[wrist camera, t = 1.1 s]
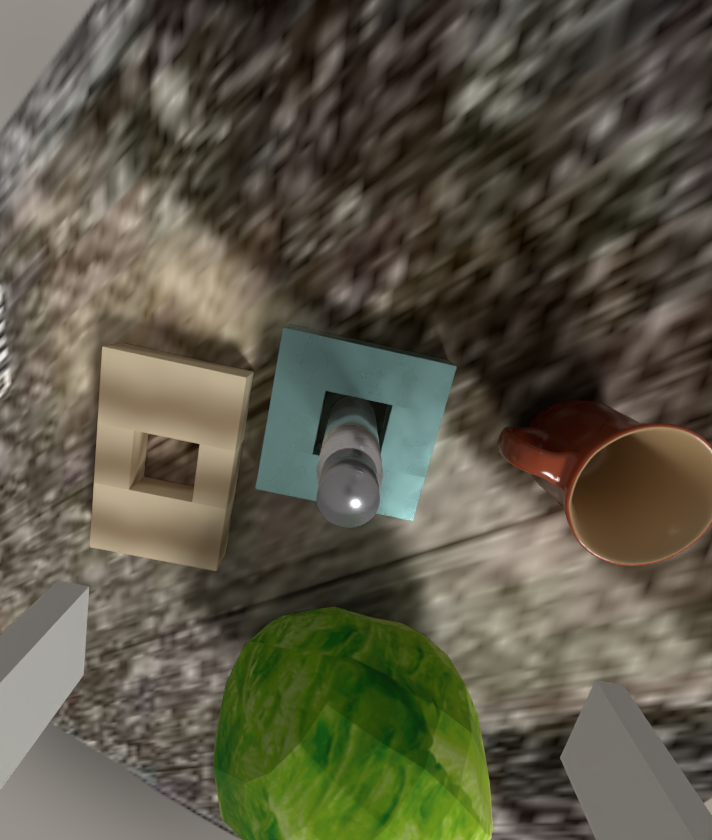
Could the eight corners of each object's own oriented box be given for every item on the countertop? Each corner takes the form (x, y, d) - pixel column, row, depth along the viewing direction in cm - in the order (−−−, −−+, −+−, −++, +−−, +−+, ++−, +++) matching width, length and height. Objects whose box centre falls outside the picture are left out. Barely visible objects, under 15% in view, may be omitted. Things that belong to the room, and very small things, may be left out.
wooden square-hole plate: (121, 342, 33) (102, 346, 30) (254, 371, 33) (246, 377, 31) (107, 530, 37) (89, 547, 35) (225, 553, 38) (216, 571, 35)
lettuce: (379, 782, 45) (391, 1064, 28) (194, 629, 40) (79, 864, 23) (529, 684, 41) (642, 942, 25) (347, 502, 36) (337, 675, 20)
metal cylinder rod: (334, 391, 34) (318, 456, 20) (380, 401, 34) (394, 472, 20) (325, 435, 35) (303, 525, 21) (369, 444, 35) (376, 540, 21)
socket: (289, 324, 32) (283, 327, 30) (448, 359, 33) (456, 366, 30) (263, 473, 36) (255, 488, 33) (408, 502, 36) (412, 520, 33)
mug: (641, 405, 34) (756, 451, 24) (590, 504, 36) (677, 582, 26) (495, 358, 33) (553, 385, 23) (453, 462, 35) (490, 528, 25)
